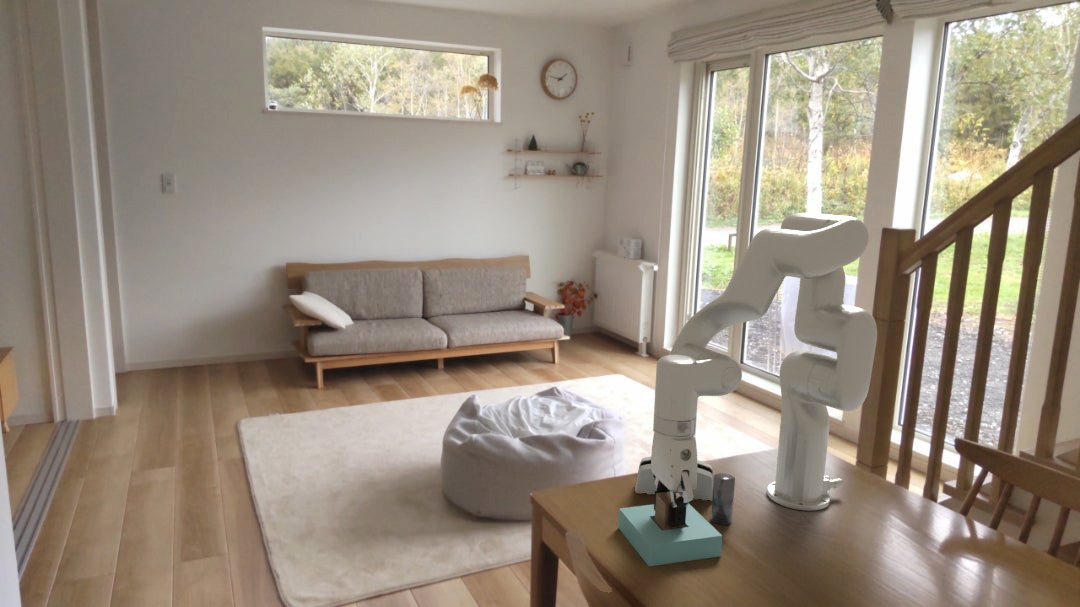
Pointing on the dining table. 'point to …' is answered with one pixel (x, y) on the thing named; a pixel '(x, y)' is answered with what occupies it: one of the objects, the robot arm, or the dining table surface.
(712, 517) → the round peg
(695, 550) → the bore block
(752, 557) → the dining table surface
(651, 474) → the slotted arch block
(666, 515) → the square peg
